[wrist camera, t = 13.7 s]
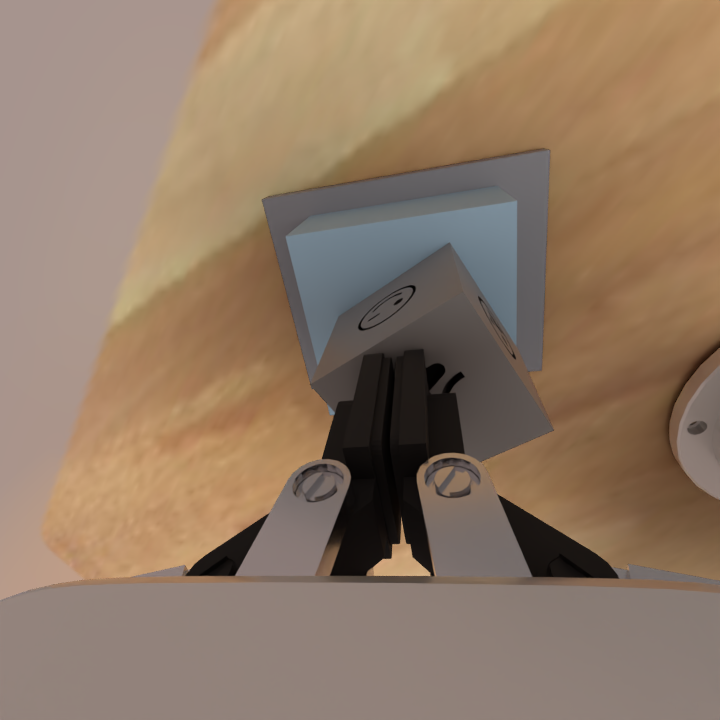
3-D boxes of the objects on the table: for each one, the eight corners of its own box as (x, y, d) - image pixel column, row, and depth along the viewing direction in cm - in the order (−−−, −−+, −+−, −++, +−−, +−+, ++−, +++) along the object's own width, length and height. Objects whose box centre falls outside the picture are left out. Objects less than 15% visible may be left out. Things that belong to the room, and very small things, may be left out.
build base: (543, 148, 17) (585, 156, 13) (537, 360, 22) (566, 419, 17) (268, 196, 19) (226, 216, 15) (315, 379, 24) (293, 435, 20)
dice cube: (450, 242, 15) (463, 291, 10) (517, 348, 16) (554, 430, 12) (338, 316, 16) (309, 384, 12) (409, 405, 18) (406, 493, 14)
